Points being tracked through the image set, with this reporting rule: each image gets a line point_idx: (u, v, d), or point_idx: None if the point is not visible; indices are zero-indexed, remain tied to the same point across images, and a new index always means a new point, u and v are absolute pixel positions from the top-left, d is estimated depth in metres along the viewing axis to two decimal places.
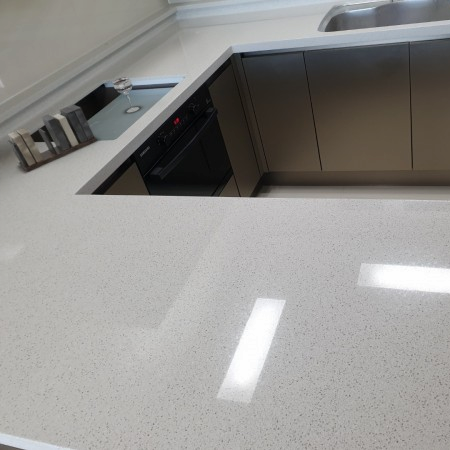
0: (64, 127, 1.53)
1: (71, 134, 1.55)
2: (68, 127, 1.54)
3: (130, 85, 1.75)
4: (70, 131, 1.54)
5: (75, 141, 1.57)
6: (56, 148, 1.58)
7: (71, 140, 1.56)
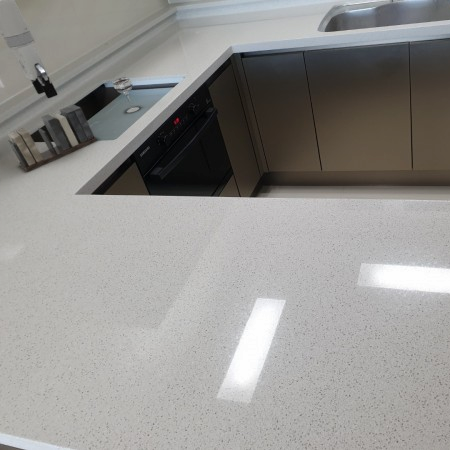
0: (64, 127, 1.53)
1: (71, 134, 1.55)
2: (68, 127, 1.54)
3: (130, 85, 1.75)
4: (70, 131, 1.54)
5: (75, 141, 1.57)
6: (56, 148, 1.58)
7: (71, 140, 1.56)
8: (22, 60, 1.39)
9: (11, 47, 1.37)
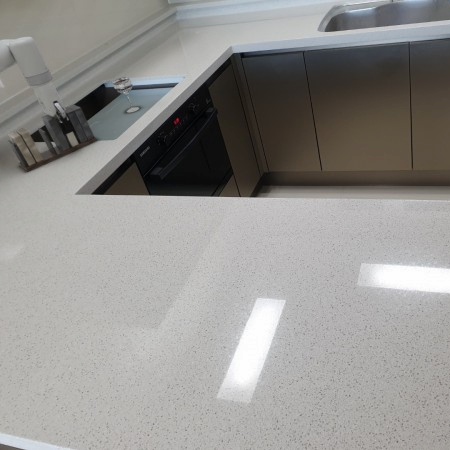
0: None
1: (71, 134, 1.55)
2: None
3: (130, 85, 1.75)
4: None
5: (75, 141, 1.57)
6: (56, 148, 1.58)
7: (71, 140, 1.56)
8: (42, 98, 1.46)
9: (31, 86, 1.44)
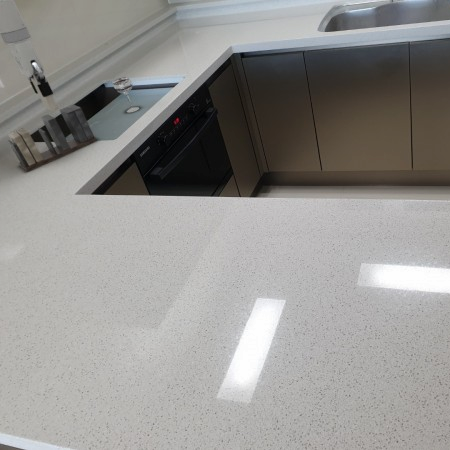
0: None
1: (50, 97, 1.47)
2: None
3: (130, 85, 1.75)
4: None
5: (54, 105, 1.49)
6: (56, 148, 1.58)
7: (50, 104, 1.48)
8: (18, 56, 1.38)
9: (7, 43, 1.36)
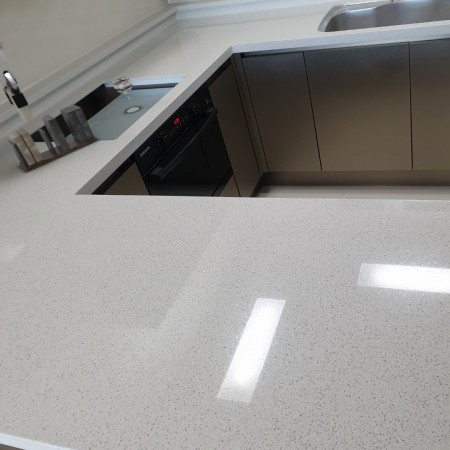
0: None
1: (25, 108, 1.43)
2: None
3: (130, 85, 1.75)
4: None
5: (30, 117, 1.45)
6: (56, 148, 1.58)
7: (26, 115, 1.44)
8: None
9: None
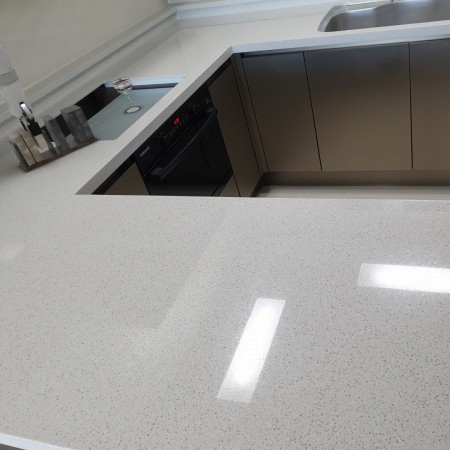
0: None
1: (40, 136, 1.49)
2: None
3: (130, 85, 1.75)
4: None
5: (44, 144, 1.50)
6: (56, 148, 1.58)
7: (40, 143, 1.49)
8: (7, 99, 1.39)
9: None
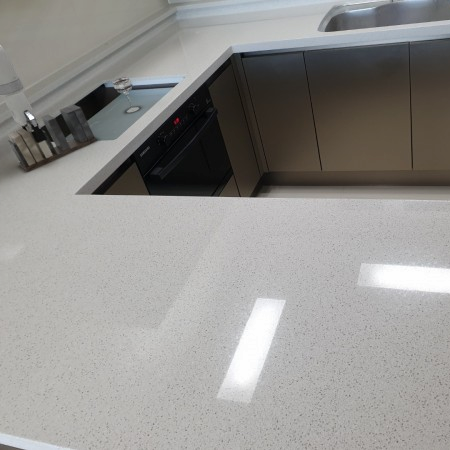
0: None
1: (45, 145, 1.51)
2: None
3: (130, 85, 1.75)
4: (44, 142, 1.50)
5: (49, 153, 1.52)
6: (56, 148, 1.58)
7: (45, 151, 1.51)
8: (11, 107, 1.41)
9: (1, 95, 1.39)
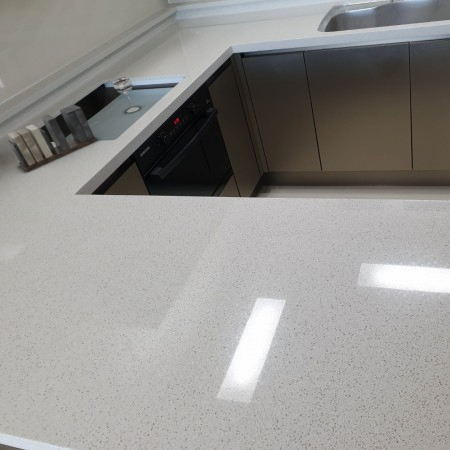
0: (37, 138, 1.48)
1: (45, 145, 1.51)
2: (41, 138, 1.49)
3: (130, 85, 1.75)
4: (44, 142, 1.50)
5: (49, 153, 1.52)
6: (56, 148, 1.58)
7: (45, 151, 1.51)
8: None
9: None
